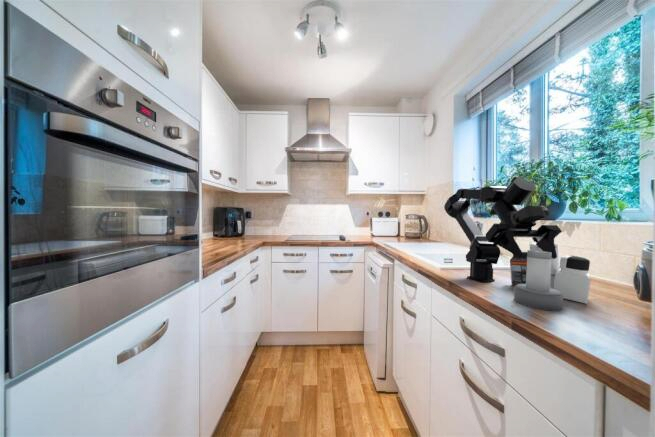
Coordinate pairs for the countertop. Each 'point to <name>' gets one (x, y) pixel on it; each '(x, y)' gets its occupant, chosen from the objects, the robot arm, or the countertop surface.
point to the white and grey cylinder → (538, 270)
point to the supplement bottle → (518, 269)
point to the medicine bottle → (573, 278)
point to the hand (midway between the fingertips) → (538, 257)
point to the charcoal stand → (538, 298)
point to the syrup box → (553, 262)
